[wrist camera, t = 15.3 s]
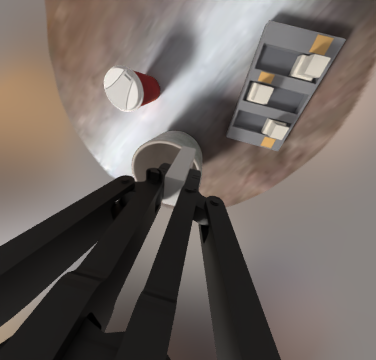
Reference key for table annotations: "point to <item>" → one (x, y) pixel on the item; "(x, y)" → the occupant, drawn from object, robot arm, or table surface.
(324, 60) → the tab
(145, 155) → the concrete flower pot
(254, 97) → the tab
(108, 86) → the paper cup
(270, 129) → the tab
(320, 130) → the table surface
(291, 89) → the switch bank
